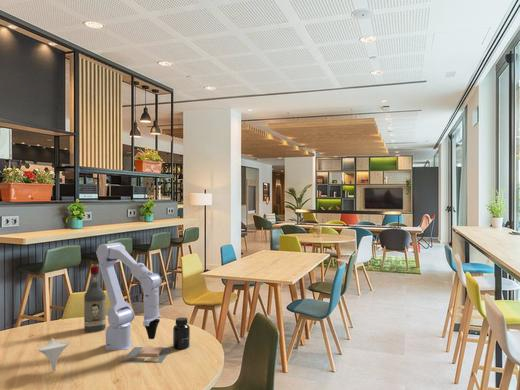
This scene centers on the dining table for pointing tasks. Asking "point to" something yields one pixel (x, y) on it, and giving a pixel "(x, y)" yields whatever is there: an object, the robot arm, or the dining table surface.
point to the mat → (135, 354)
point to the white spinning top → (53, 351)
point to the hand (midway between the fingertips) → (151, 338)
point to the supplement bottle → (181, 334)
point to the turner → (140, 359)
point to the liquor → (94, 305)
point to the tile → (150, 351)
